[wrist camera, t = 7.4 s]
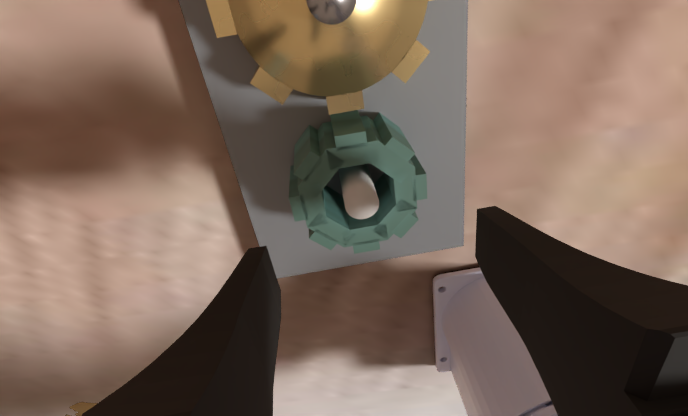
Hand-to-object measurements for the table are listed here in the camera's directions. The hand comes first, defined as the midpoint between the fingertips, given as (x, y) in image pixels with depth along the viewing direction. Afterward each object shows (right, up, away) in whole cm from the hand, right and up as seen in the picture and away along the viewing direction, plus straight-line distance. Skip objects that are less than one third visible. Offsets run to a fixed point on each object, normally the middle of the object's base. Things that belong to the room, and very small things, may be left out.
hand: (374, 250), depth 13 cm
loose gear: (-1, +3, +5) cm, 7 cm away
